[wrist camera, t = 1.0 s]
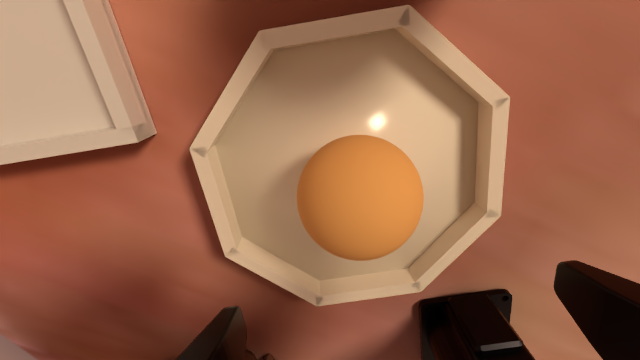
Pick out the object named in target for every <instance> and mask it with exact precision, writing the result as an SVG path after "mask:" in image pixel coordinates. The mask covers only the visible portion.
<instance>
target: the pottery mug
mask: <svg viewBox="0 0 640 360" xmlns="http://www.w3.org/2000/svg"><path fill="white" fill-rule="evenodd" d="M244 360H257V359H256V357H255V356H254V354H253V353H252V352H250V351H248V350H245V357H244ZM264 360H275V359H274V358H273V357H272V356H271V355H270V354H267V355H266V356H265V358H264Z"/></svg>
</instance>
